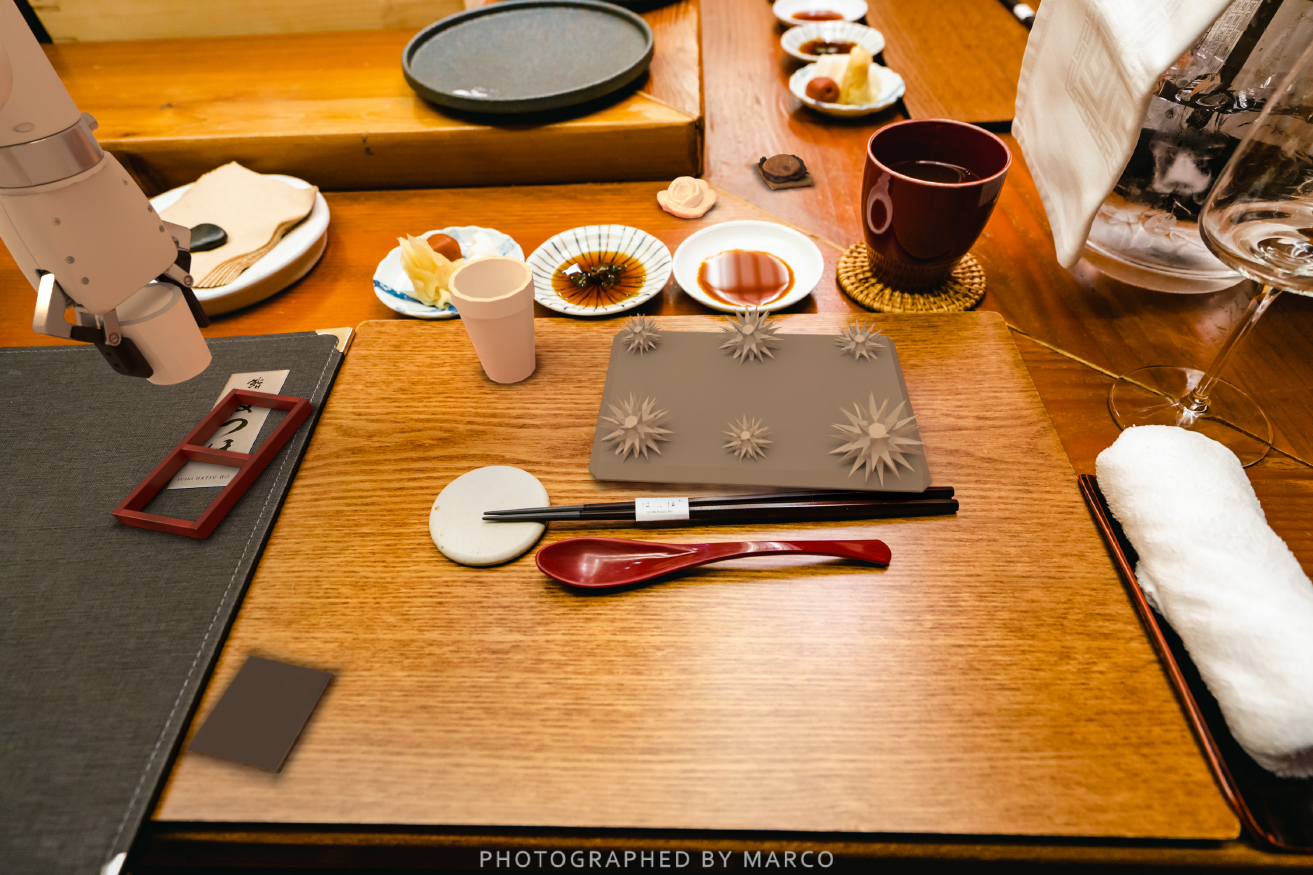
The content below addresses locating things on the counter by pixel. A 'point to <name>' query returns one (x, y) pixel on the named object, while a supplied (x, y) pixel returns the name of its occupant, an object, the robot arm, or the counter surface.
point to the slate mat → (261, 714)
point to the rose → (687, 197)
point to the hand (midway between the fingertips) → (167, 347)
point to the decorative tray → (758, 409)
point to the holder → (193, 450)
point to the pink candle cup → (164, 333)
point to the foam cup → (498, 314)
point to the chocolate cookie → (783, 171)
